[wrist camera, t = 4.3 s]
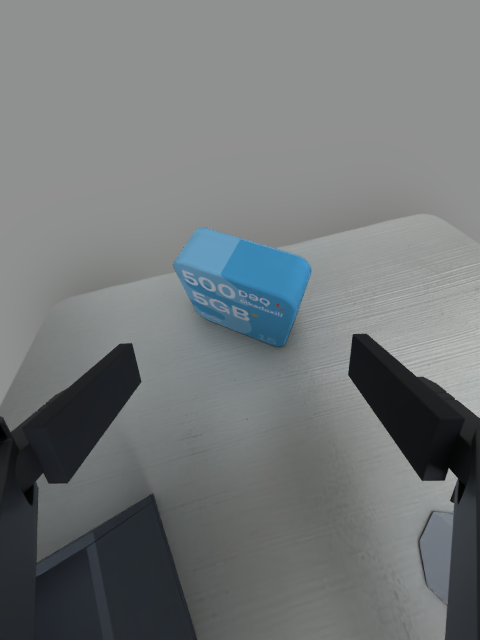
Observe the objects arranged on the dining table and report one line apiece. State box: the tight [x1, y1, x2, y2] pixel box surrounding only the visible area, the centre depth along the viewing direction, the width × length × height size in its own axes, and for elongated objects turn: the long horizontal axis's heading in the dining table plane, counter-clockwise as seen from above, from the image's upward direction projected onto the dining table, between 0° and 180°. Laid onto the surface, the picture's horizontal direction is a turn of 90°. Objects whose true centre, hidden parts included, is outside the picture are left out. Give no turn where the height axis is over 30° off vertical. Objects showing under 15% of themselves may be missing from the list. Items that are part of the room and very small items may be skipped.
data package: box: [173, 228, 311, 347], centre depth 26 cm, size 12×4×12 cm, turn 65°
